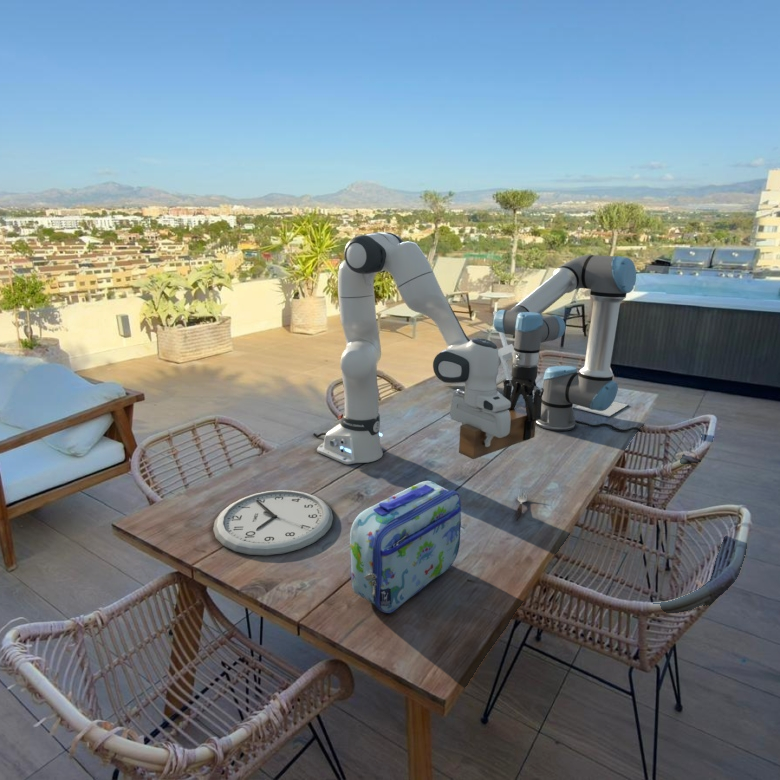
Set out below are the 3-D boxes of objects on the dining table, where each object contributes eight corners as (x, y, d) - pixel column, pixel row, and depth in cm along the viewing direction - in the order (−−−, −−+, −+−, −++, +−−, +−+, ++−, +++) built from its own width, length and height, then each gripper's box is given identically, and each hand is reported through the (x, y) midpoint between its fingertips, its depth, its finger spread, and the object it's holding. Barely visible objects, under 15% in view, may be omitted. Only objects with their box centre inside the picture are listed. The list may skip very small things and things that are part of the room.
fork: (511, 521, 136) (512, 514, 136) (519, 493, 150) (519, 487, 150) (521, 523, 135) (522, 516, 135) (528, 495, 150) (528, 489, 149)
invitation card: (608, 416, 214) (573, 407, 224) (608, 416, 214) (573, 408, 224) (628, 404, 229) (594, 396, 238) (628, 405, 229) (594, 397, 238)
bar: (519, 431, 168) (522, 406, 166) (534, 437, 164) (537, 411, 162) (458, 452, 152) (460, 425, 150) (473, 459, 148) (475, 431, 145)
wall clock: (331, 546, 121) (198, 551, 119) (331, 552, 122) (199, 557, 119) (333, 485, 150) (227, 488, 147) (334, 490, 150) (227, 493, 148)
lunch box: (379, 627, 99) (381, 531, 93) (343, 599, 107) (342, 508, 100) (464, 568, 117) (470, 484, 111) (428, 548, 124) (431, 467, 118)
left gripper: (446, 389, 153) (444, 433, 157) (500, 408, 138) (496, 456, 142) (461, 385, 157) (459, 428, 161) (515, 403, 142) (511, 450, 146)
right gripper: (492, 360, 161) (487, 429, 168) (543, 373, 147) (535, 449, 154) (508, 356, 166) (502, 424, 173) (559, 369, 152) (550, 443, 159)
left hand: (477, 441), depth 151 cm, fingers closed on bar, 6 cm apart
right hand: (518, 436), depth 164 cm, fingers closed on bar, 6 cm apart
